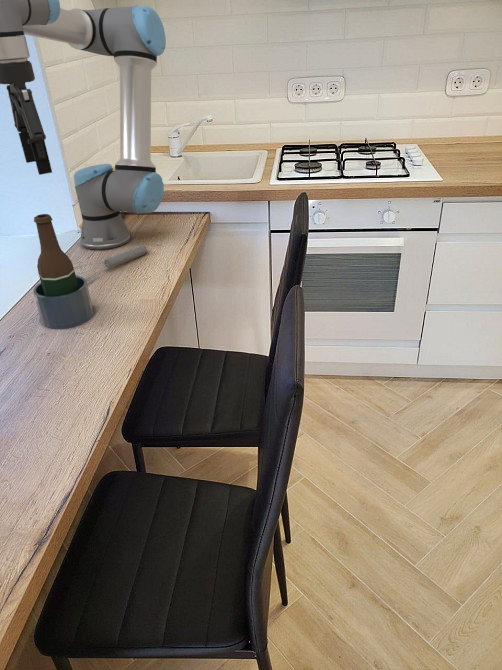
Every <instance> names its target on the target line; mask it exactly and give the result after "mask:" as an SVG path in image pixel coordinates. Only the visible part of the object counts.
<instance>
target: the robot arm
mask: <svg viewBox="0 0 502 670" xmlns="http://www.w3.org/2000/svg"><path fill="white" fill-rule="evenodd" d="M60 4H61V2H60V0H0V85H6V90H7V94H8V98H9V102H10V107H11V113H12V117H13V123H14V127H15V129H16V131H17V132H18V137H19V140H20V144H21V148H22V152H23V155H24V159H25V163H27V164H29V163H33V162H35V165H36V169H37V173H38V175H46V174H51V173H53V169H52V165H51V162H50V161H51V160H50V158H49V153H48V149H47V146H46V141H45V140H46V139H47V136H46V134H45V131H44V127H43V125H42V122H41V118H40V116H39V113H38V110H37V106H36V104H35V100H34V97H33V91H32V90H31V88H27V85H26V84H27V83H31V82H34V81H35V79H36V76H35V72H34V68H33V63H32V62H31V61H30V60H29V58H31V55H30V49H29V47H28V43H27V38H26V36H30V37H35V38H40V39H44V40H49V41H55V42H60V43H64V44H67V45H69V46H70V47H71V48H72V49H75V50H80V51H82V52H83V51H84V52H88V53H91V54H95V55H101V56H105V57H113V61H114V62H115V64H116V65H117V66H118V68H119V145H120V146H119V147H120V148H119V149H120V150H119V151H120V152H119V153H120V155H119V159H118V160H117V161H116V162H115V163H114V167H113V166H112V164H110V163H102V164H95V165H90V166H87V167H83V168H81V169H78V170H76V171H75V172H74V174H73V181H74V189H75V193H76V196H77V202H78V206H79V210H80V215H81V219H82V222H81V223H82V224H81V230H80V231H81V232H80V244H81V246H82V247H83V248H85V249H88V250H93V251H94V250H95V251H96V250H97V251H101V250H110V249H114V248H118V247H122V246H124V245H127V243H129V242H130V240H131V233H130V230H129V228H128V227H127V224H126V223H125V221H124V218H125V213H132V214H138V215H139V214H152V213H153V212H155V211H157V210H158V208H159V207H160V205H161V203H162V201H163V197H164V191H165V185H164V181H163V177H162V175H161V174H159V173H158V172H157V166H156V165H155V164H154V163H153V162H152V160H151V159H152V157H151V156H152V152H151V150H152V145H151V144H152V71H153V69H155V67H156V66H157V65H158V56H161V55H162V54H164V52H165V50H166V44H167V40H166V39H167V38H166V31H165V28H164V25H163V22H162V20H161V17H160V16H159V14H158V13H157V12H156V10H155V9H154V8H152V7H151V6H147V5H145V6H144V5H137V4H136V5H132V6H119V7H102V8H94V9H81V8H75V7H74V8H71V9H69V10H68V9H65V8H61V5H60Z"/></svg>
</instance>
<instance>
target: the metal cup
mask: <svg viewBox="0 0 502 670" xmlns="http://www.w3.org/2000/svg"><path fill="white" fill-rule="evenodd" d="M76 279H77V283H78V288H79V290H77V291H75V292H72V293H70V294H67V295H62V296H54V297H48V296H45V295H44V292H43V288H42V284H41V282H39V283H38V284H37V285H36V284H35V286H34V288H33V291H32V292H33V296H34V300H35V303H36V306H37V311H38V315H39V317H40V320H41V323H42V324H43V326H45V327H46V328H49V329H55V330H62V329H63V330H64V329H69V328H74V327H78V326H80V325H82V324H84V323H86V322H87V321H89V320H90V319H91V318H92V316H93V315H94V307H93V304H92V299H91V294H90V289H89V286H88V285H89V284H87V283H88V280H86V279H87V278H85V277H83V276H81V275H79V276H78V275H77V276H76Z"/></svg>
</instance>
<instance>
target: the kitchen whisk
mask: <svg viewBox="0 0 502 670" xmlns="http://www.w3.org/2000/svg"><path fill="white" fill-rule="evenodd" d="M147 246H148V247H147ZM150 248H151V246H150V245H149V244H145V245H140V246H137V247H134V248H132V249H129V250H127V251H123V252H121V253H119V254H116V255H113V256H111V257H108V258H105V259H104V260H94V261H93V260H90V261H88V262H87V263H84V261H81V262H79V265H76V264H78V262H74V263H73V265H76V266H73V267H74V269H76V268H80V267H82V266H83V267H87V265H88V266H92V265H93V263H94V264H95V265H98V264H101V263H103V264H102V265H99V266H97V267H93V268H92V269H89V270H86V271H84V272H81V273H78V274H75V275H76V276H81V275H85V274H88V273H89V272H92V271H95V270H97V269H100V268H101V269H100V270H98V271H97V272H95V273H94V274H92V275H91V276H89V277H87V278H85V279H86V281H87V285H89V283H92V281H94V280H95V279H97V277H99V276H100V275H101V274H102V273H103V272H104V271H106V269H111V268H115V267H116V266H119V265H122V264H124V263H126V262H129V261H132V260H134V259H137V258H139V257H141V256H144V255H146V254H147V253H148V251H149V250H150ZM82 263H83V264H82ZM102 267H103V268H102Z"/></svg>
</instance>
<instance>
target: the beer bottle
mask: <svg viewBox="0 0 502 670" xmlns="http://www.w3.org/2000/svg"><path fill="white" fill-rule="evenodd" d="M33 222H34V223H35V225H36V229H37V235H38V239H39V245H40V254H39V256H38V258H37V263H36V264H37V266H36V267H37V273H38V277H39V280H40V281H39V282H40V283H41V284H42V288H43V292H44V295H45V296H48V297H54V296H62V295H67V294H70V293H72V292H75V291H77V290H79V288H78V283H77V279H76V275H77V274H76V271H75V268H74V267H75V266H74V263H73V262H72V260H71V259H70V257H69V256H68V254H67V253H65V252H64V251H63V250H62V248H61V246H60V244H59V241H58V238H57V235H56V232H55V228H54V225H53V218H52V215H50V214H49V213H40V214H37V215H36V216H34V217H33Z"/></svg>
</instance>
